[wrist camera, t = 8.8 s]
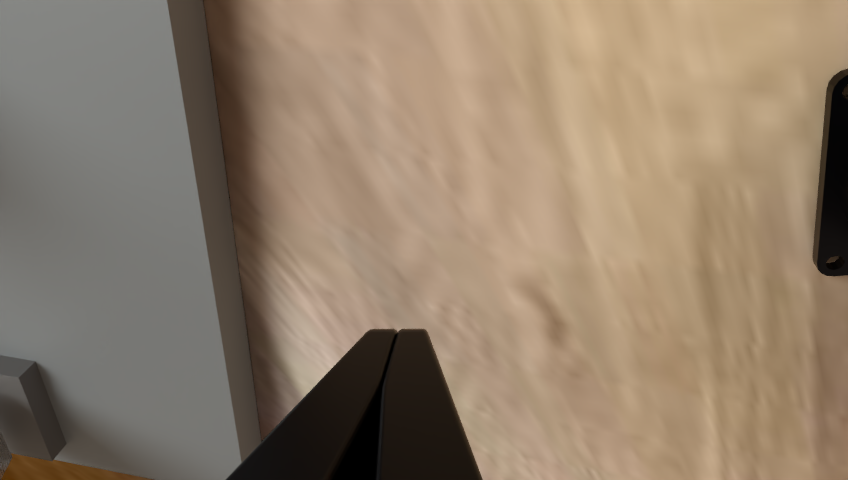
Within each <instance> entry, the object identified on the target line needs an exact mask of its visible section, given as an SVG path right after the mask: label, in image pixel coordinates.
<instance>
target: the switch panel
mask: <svg viewBox="0 0 848 480" xmlns="http://www.w3.org/2000/svg"><path fill="white" fill-rule="evenodd" d="M0 431H1V433H2V436H3V438H4V440H5V442H6V444H7V447H8V449H9V451H10V453H14V454H19V455H24V456H29V457H34V458H39V459H44V460H49V461H53V460H59V461H64V462H69V463H74V464H79V465H84V466H89V467H94V468H99V469H104V470H110V471H115V472H120V473H125V474H130V475H135V476H140V477H145V478H150V479H155V480H225V479H226V478H227V477H228V476H229V475H230V474H231V473H232V472H233V471H234V470H235V469H236V468H237V467H238V466H239V465H240V464H241V463H242V462H243V461H244V460H245V459H246V458H247V457H248V455H249V454H250V453H251V452H252V451H253V450H254V449H255V448H256V447H257V446H258V445H259V444H260V443H261V435H260V427H259V420H258V412H257V404H256V397H255V389H254V382H253V374H252V367H251V359H250V352H249V344H248V336H247V329H246V321H245V314H244V306H243V299H242V291H241V283H240V276H239V268H238V261H237V253H236V246H235V238H234V230H233V223H232V215H231V208H230V200H229V193H228V185H227V178H226V170H225V162H224V155H223V147H222V140H221V132H220V125H219V117H218V109H217V102H216V94H215V87H214V79H213V72H212V64H211V56H210V49H209V41H208V34H207V26H206V19H205V11H204V4H203V0H0Z"/></svg>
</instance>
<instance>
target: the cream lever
mask: <svg viewBox="0 0 848 480" xmlns="http://www.w3.org/2000/svg"><path fill="white" fill-rule="evenodd" d="M11 459H12V455H11V453H10V451H9V449H8V447H7V444H6V442H5V440H4V438H3V436H2V433H1V431H0V480H1V478H2V476H3V474H4V472H5V470H6V469H7V467H8V465H9V463H10V461H11Z"/></svg>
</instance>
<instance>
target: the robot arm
mask: <svg viewBox="0 0 848 480" xmlns="http://www.w3.org/2000/svg"><path fill="white" fill-rule="evenodd" d="M847 84H848V69H845V70H842V71H840V72H839V73H837V74H836V75H834V76H833V78H832V79H831V80H830V81H829V83H828V87H827V91H826V103H825V115H824V127H823V139H822V151H821V162H820V174H819V186H818V198H817V210H816V222H815V234H814V246H813V262H814V264H815V266H816V267H817V269H818V270H819V271H820V272H821V273H822V274H824V275H826V276H843V275H848V95H843V94H842V92H843V89H844V87H845V86H846V85H847ZM833 256H839V258H838V259H837V260H836V261H835V262H831V263H827V260H828V259H829V258H831V257H833ZM225 480H483V479H482V477H481V474H480V471H479V469H478V466H477V463H476V461H475V458H474V455H473V453H472V450H471V447H470V445H469V442H468V439H467V436H466V434H465V431H464V428H463V426H462V423H461V420H460V418H459V415H458V412H457V410H456V407H455V404H454V402H453V399H452V396H451V394H450V391H449V388H448V385H447V383H446V380H445V377H444V375H443V372H442V369H441V367H440V364H439V361H438V359H437V356H436V353H435V351H434V348H433V345H432V343H431V340H430V337H429V335H428V332H427V331H426V330H425V329H401V330H400V331H399V332H397V331H396V330H395V329H371V330H369V331H368V332H366V333H365V334H364V336H363V337H362V338H361V339H360V340H359V341H358V342H357V343H356V344H355V345H354V346H353V347H352V348H351V349H350V350H349V351H348V352H347V353H346V354H345V355H344V356H343V357H342V358H341V360H340V361H339V362H338V363H337V364H336V365H335V366H334V367H333V368H332V369H331V370H330V371H329V372H328V373H327V374H326V375H325V376H324V377H323V378H322V379H321V380H320V381H319V382H318V383H317V385H316V386H315V387H314V388H313V389H312V390H311V391H310V392H309V393H308V394H307V395H306V396H305V397H304V398H303V399H302V400H301V401H300V402H299V403H298V404H297V405H296V406H295V407H294V409H293V410H292V411H291V412H290V413H289V414H288V415H287V416H286V417H285V418H284V419H283V420H282V421H281V422H280V423H279V424H278V425H277V426H276V427H275V428H274V429H273V430H272V431H271V433H270V434H269V435H268V436H267V437H266V438H265V439H264V440H263V441H262V442H261V443H260V444H259V445H258V446H257V447H256V448H255V449H254V450H253V451H252V452H251V453H250V454H249V455H248V457H247V458H246V459H245V460H244V461H243V462H242V463H241V464H240V465H239V466H238V467H237V468H236V469H235V470H234V471H233V472H232V473H231V474H230V475H229V476H228V477H227V478H226V479H225Z"/></svg>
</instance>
